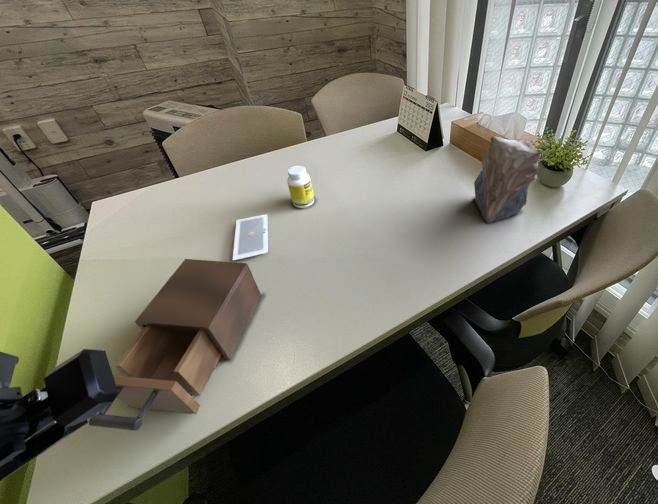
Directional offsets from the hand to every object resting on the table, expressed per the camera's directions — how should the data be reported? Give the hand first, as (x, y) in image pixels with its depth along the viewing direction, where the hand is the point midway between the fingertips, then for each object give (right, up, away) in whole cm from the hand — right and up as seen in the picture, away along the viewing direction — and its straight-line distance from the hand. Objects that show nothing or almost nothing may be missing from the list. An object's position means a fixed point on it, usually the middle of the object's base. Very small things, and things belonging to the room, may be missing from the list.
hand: (84, 420), depth 39 cm
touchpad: (+1, +17, +43) cm, 47 cm away
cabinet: (+2, +3, +25) cm, 25 cm away
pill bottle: (+11, +27, +55) cm, 62 cm away
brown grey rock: (+65, +25, +52) cm, 87 cm away
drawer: (+1, -4, +15) cm, 15 cm away
